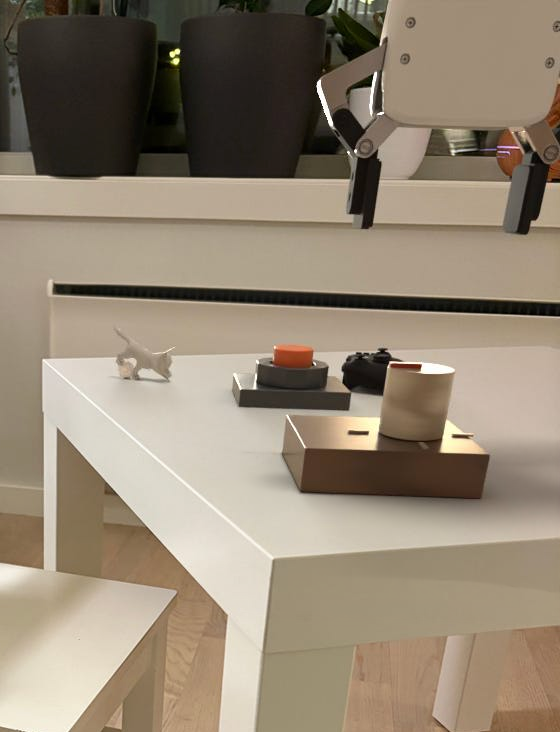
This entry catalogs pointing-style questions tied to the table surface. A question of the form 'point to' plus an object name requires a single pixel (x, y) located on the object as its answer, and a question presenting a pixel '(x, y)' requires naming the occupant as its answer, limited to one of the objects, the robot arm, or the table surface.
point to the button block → (290, 387)
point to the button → (293, 355)
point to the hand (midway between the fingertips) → (437, 230)
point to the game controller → (367, 369)
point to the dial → (416, 401)
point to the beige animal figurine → (141, 359)
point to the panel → (380, 459)
